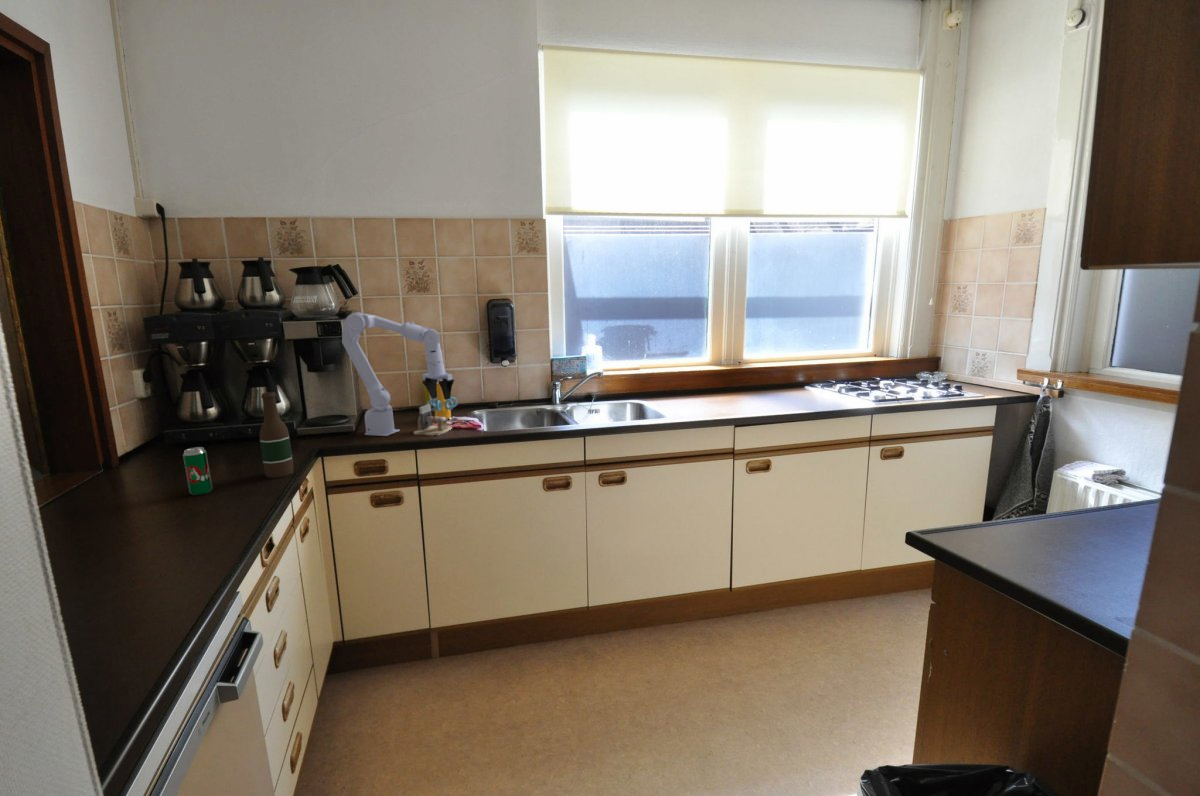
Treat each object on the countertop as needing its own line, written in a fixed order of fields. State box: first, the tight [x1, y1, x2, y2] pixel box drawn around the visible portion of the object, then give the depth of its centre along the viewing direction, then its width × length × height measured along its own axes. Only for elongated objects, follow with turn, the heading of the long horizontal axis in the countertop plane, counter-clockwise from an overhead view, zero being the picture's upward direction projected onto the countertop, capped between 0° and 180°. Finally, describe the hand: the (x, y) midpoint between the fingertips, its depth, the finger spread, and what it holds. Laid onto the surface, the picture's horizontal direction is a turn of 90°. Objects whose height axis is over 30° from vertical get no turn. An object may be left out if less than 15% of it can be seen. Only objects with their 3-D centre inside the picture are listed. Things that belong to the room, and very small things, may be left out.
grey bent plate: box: [418, 403, 434, 429], centre depth 212 cm, size 1×5×8 cm, turn 162°
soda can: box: [182, 446, 213, 496], centre depth 155 cm, size 5×5×12 cm
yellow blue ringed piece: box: [426, 381, 458, 418], centre depth 230 cm, size 12×10×15 cm
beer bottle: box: [259, 391, 294, 479], centre depth 167 cm, size 8×8×24 cm
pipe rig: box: [413, 415, 453, 437], centre depth 212 cm, size 10×9×6 cm
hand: (440, 398), depth 216 cm, fingers open, 7 cm apart
